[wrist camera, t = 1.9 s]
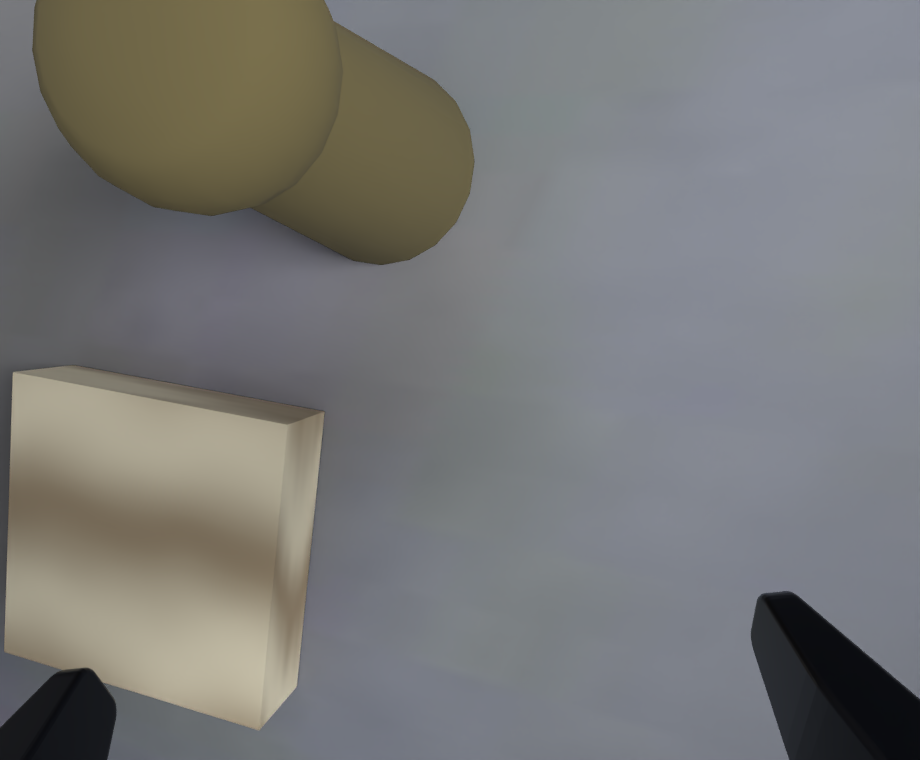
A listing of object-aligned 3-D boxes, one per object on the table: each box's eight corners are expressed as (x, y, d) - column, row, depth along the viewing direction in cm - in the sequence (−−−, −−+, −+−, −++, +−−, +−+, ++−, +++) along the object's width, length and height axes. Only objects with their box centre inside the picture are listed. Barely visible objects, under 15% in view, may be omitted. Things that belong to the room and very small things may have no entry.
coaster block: (296, 686, 24) (259, 730, 21) (62, 619, 26) (4, 651, 23) (324, 411, 22) (288, 424, 20) (73, 364, 24) (12, 372, 22)
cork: (258, 194, 22) (-87, 93, 11) (357, 26, 21) (68, -271, 10) (401, 303, 21) (174, 303, 11) (514, 136, 20) (382, -58, 9)
